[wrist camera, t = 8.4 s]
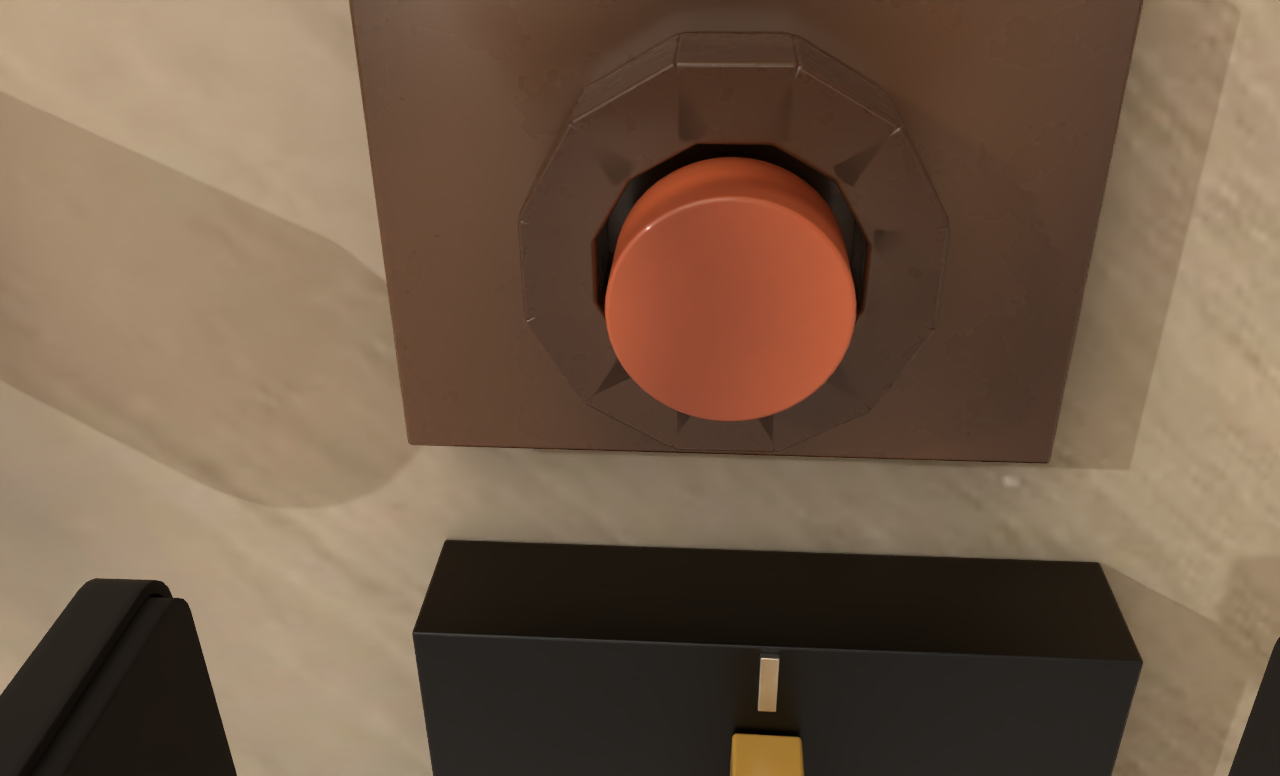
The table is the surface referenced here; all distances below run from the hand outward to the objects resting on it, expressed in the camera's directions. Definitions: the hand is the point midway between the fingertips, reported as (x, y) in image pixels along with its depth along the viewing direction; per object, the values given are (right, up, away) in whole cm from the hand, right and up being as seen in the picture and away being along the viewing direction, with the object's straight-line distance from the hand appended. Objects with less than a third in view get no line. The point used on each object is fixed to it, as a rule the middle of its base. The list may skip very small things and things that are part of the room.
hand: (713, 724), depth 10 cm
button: (+1, +5, +8) cm, 9 cm away
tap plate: (+2, -5, +17) cm, 18 cm away
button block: (+1, +6, +11) cm, 13 cm away
